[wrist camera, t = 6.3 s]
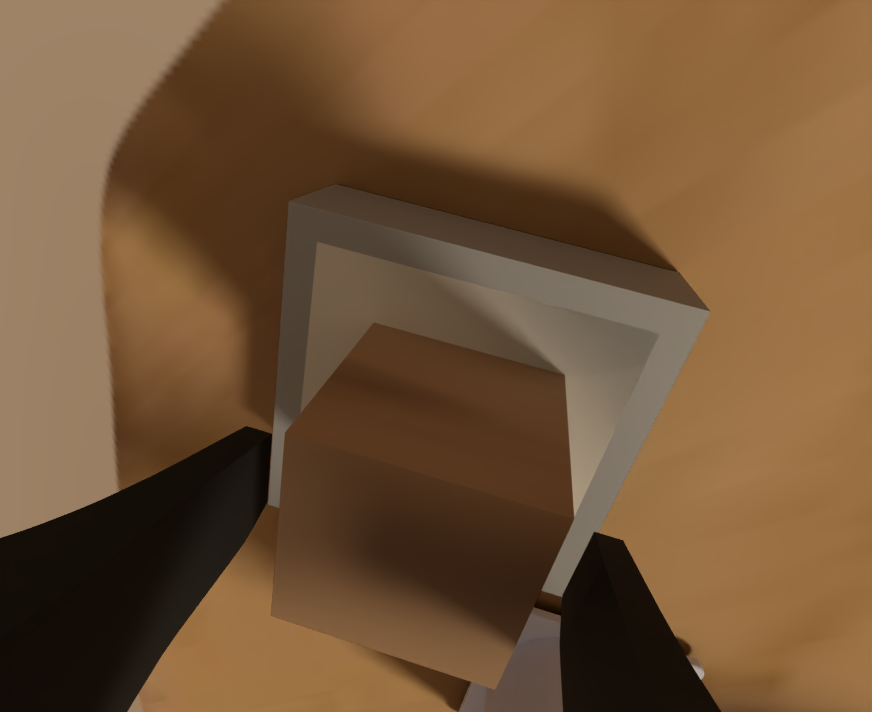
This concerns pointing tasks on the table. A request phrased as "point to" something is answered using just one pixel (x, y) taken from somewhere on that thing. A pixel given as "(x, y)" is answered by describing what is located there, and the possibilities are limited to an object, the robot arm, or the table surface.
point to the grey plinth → (487, 324)
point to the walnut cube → (424, 502)
